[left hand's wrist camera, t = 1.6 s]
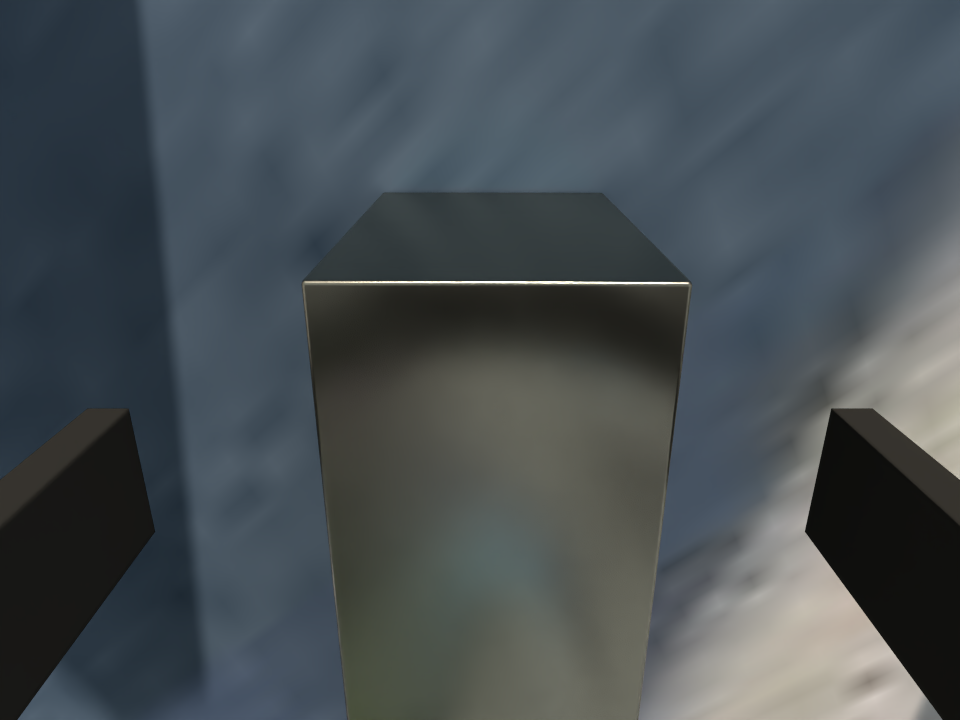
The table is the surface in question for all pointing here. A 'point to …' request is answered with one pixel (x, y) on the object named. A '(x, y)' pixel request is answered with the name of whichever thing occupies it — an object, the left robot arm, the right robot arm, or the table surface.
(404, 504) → the bar
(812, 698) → the table surface
